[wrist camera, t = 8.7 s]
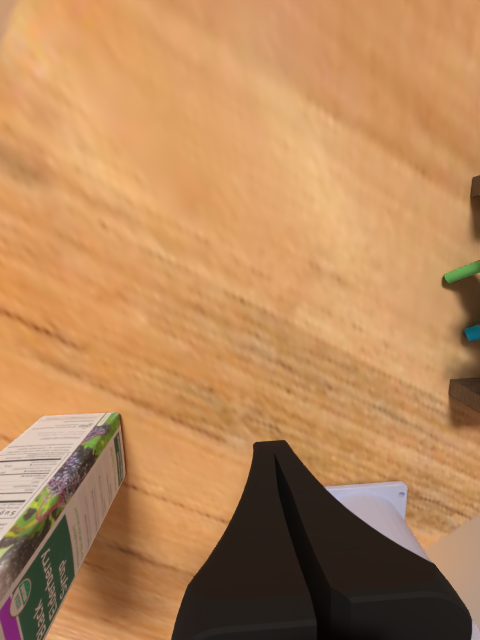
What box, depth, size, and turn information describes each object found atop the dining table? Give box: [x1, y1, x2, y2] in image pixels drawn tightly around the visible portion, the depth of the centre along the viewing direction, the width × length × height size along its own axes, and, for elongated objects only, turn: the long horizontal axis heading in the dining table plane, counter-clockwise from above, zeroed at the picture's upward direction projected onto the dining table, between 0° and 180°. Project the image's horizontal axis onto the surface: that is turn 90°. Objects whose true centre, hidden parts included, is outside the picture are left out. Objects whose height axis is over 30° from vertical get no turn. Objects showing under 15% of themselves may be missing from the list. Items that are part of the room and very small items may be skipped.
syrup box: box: [0, 412, 126, 640], centre depth 15 cm, size 6×6×14 cm
